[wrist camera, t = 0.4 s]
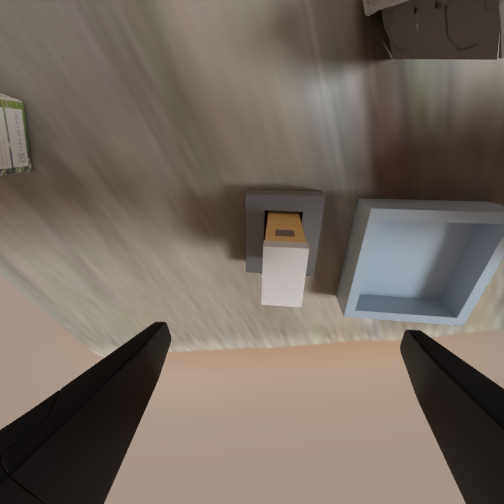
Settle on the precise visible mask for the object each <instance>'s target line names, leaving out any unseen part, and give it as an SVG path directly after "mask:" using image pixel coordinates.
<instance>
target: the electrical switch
mask: <svg viewBox="0 0 504 504" xmlns="http://www.w3.org/2000/svg"><path fill="white" fill-rule="evenodd" d="M363 6H364V11H365V15H367V16H370V15H372V14H374V13H375V12H376V11H378V10H381V12H382V17H383V23H384V28H385V31H386V33H387V35H388V37H389V42H390V47H391V53H392V58H393V59H493V60H497V52H498V43H499V33H500V43H499V58H503V57H504V0H363ZM500 24H501V26H500Z"/></svg>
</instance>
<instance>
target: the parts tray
mask: <svg viewBox="0 0 504 504" xmlns="http://www.w3.org/2000/svg"><path fill="white" fill-rule="evenodd" d="M503 257H504V206H503V205H500V204H497V203H493V202H481V201H446V200H411V199H376V198H358V200H357V204H356V209H355V213H354V218H353V222H352V227H351V231H350V236H349V240H348V245H347V249H346V254H345V258H344V263H343V267H342V272H341V277H340V281H339V286H338V290H337V295H336V297H337V299H338V302H339V305H340V308H341V310H342V313H343V316H344V317H354V318H368V319H381V320H395V321H408V322H422V323H435V324H449V325H462V326H463V325H464V323H465V322H466V320H467V318H468V317H469V315H470V313H471V312H472V310H473V308H474V307H475V305H476V303H477V301H478V300H479V298H480V296H481V295H482V293H483V291H484V290H485V288H486V286H487V284H488V283H489V281H490V279H491V278H492V276H493V274H494V273H495V271H496V269H497V268H498V266H499V264H500V262H501V261H502V259H503Z"/></svg>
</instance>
